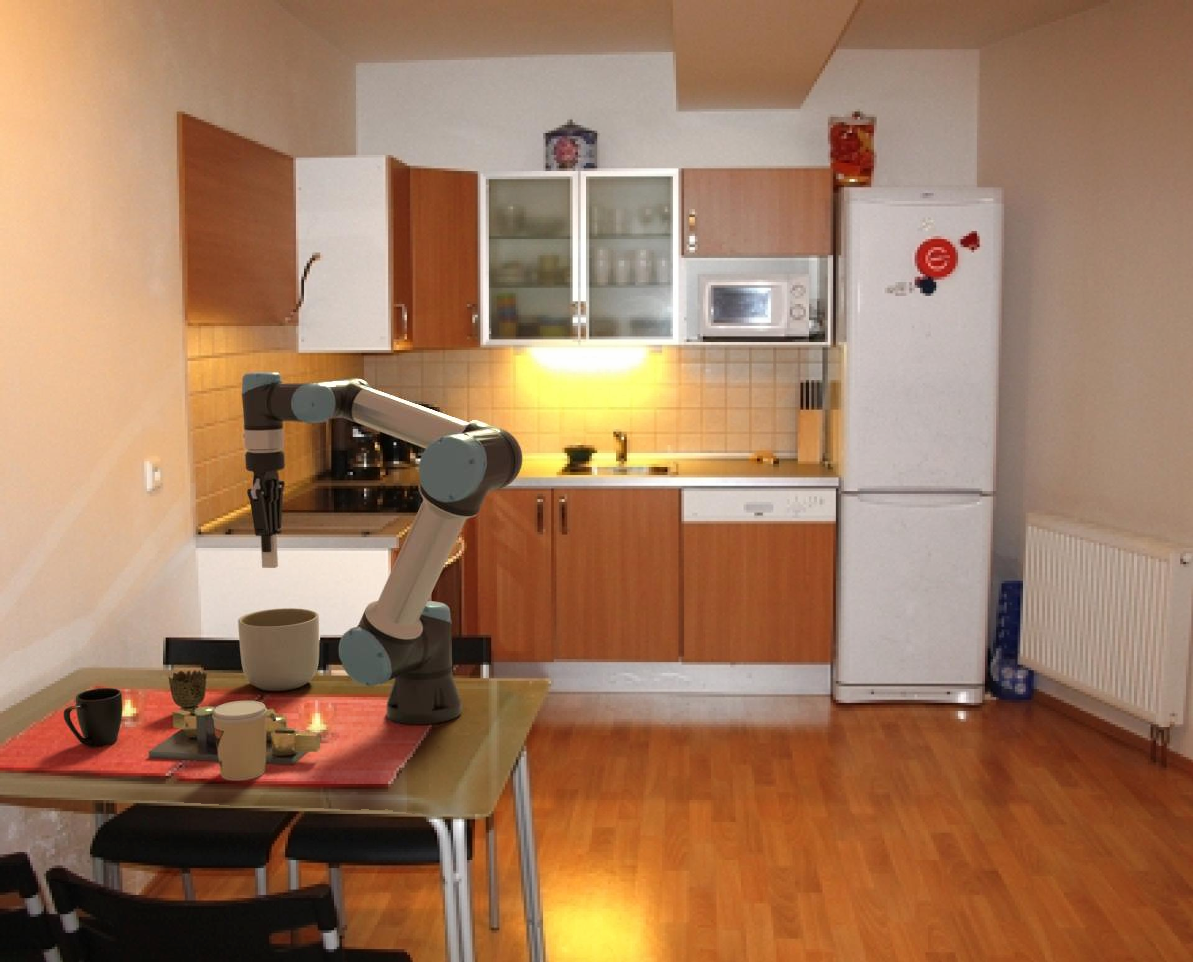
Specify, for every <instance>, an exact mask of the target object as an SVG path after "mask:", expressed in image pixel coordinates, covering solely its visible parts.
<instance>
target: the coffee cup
mask: <svg viewBox="0 0 1193 962" xmlns="http://www.w3.org/2000/svg"><path fill="white" fill-rule="evenodd" d="M267 709H268V708H267V707H266V705H265V704H264V703H263V702H261V701H258V700H257V701H256V700H236V701H230V702H225V703H223V704H220V706H218V707H216V708H215V709H214V712H213V715H212V716H213V719H214V727H215V736H216V744H217V751H218V759H219V761H218V765H219V773H220V776H221V778H222V779H224V780H226V781H233V782H234V781H237V782H239V781H248V780H251V779H256V778H259V777H260V776H262V775H264V774H265V773H266V764H265V763H266V714H267Z"/></svg>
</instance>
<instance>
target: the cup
mask: <svg viewBox="0 0 1193 962" xmlns="http://www.w3.org/2000/svg"><path fill="white" fill-rule="evenodd" d="M207 676H208V673H207V672H205V671H203V672H201V671H200V670H198V671H197V670H196V669H194V670H193V671H192V673H191V670H187V671H186V673H185V672H184V671H182V670H180V671H179V672H177V673H176V672H173V673H172V677H171V676H170V675H168V682H169V683H168V684H169V689H170V694H171V697H172V701H173V702H174V703H175V705H177V706H178V707H180V708H179V710H184V711H188V712H195V709H197V708H200V707H199V706H200V704H202V702H203V701H204V700H205V697H206V690H207Z"/></svg>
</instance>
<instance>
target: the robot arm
mask: <svg viewBox="0 0 1193 962" xmlns="http://www.w3.org/2000/svg"><path fill="white" fill-rule="evenodd" d="M241 383H242V384H241V393H240V394H241V398H242V409H243V410H242V412H243V429H244V433H243V434H242V438H243V439H244V448H245V449H246V450H248V451H246V452H245V454H244V455H245V456H244V459H245V469H246V470H247V472H252V473H253V474H252V475H253V476H252V488H247V491H246V492H247V496H248V500H249V503H250V509H251V517H252V522H253V529H254V535H255V536H256V537H257V536H258V537H260V547H261V548H260V552H261V568H263V569H276V568H278V567H279V562H278V560H279V559H278V558H279V557H278V542H277V541H278V539H277V535H280V534H281V535H282V530H280V529H282V517H283V498H284V490H285V483H286V482H285V481H284V480H280V479H279V478H280V474H279V472H278V471H282V470H284V469H285V467H286V464H285V463H286V461H285V460H286V459H285V452H284V451H283V450H282V449H284V447H285V441H284V440H285V439H284V438H285V437H284V428H283V427H284V422H293V423H306V424H309V425H310V424H317V423H325V422H327V421H328V420H330V419H337V418H338V419H339V418H341V419H342V418H343V419H345V420H348V421H350V422H354V423H356V424H359V425H362V426H365V427H367V428H371V429H373V430H375V431H378V432H380V433H383V434H386V435H389V436H391V437H394V438H396V439H399V440H403V441H405V442H408V443H410V444H413V445H415V446H418V447H420V448H423V449H424V451H423V453H422V455H421V457H420V460H419V464H418V474H419V475H420V478H419V481H420V485H419V488H418V491H419V494H420V497H421V498H422V502H421V504H420V505H419V506H420V507H419V509H418V511H417V514H416V515H415V518H414V520H413V522H412V524H411V527H410V529H409V531H408V533H407V535H406V538H405V540H404V543H403V544H402V547H401V548H400V551H399V553H398V555H397V558H396V560H395V562H394V564H393V565H392V566H393V567H392V569H391V571H390V573H389V576H388V577H387V580H386V582H385V584H384V586H383V589H382V591H381V593H380V596H379V598H378V600H376V601H372V602H370V603H368V604H367V606H366V607H365V609H364V611H363V614H362V616H361V618H360V620H359V623H358V624H357V626H354V627H351V628H349V629H348V630H346V632H344V633H343V635H342V636H341V638H340V640H339V645H338V656H339V660H340V662H341V663H342V664H341V665H342V667H343V670H344V671H345V673H346V674H347V675H348V676H349V677H350V678H351V679H352V680H353V681H354V682H356V684H359V685H362V686H364V687H373V686H379V685H383V684H386V683H388V681H390V680H393V681H392V685H391V688H390V691H389V695H388V698H387V702H386V717H387V718H388V719H389V720H391V721H393V722H395V723H398V724H399V723H400V724H404V725H405V724H406V725H433V724H439V723H443V722H447V721H450V720H454V719H456V718H458V717H460V715H461V714H462V712H463V707H462V705H463V703H462V698H461V695H460V693H459V690H458V687H457V684H456V682H455V681H456V680H455V679H454V677H453V659H452V657H453V656H452V655H453V654H452V653H453V652H452V651H453V650H452V645H453V644H452V624H453V621H452V619H451V610H450V608H449V606H448V604H445V603H443V602H439V601H432V600H429V599H430V597H431V595H432V593H433V590H434V589H435V587H436V584H437V582H438V580H439V578H440V576H441V573H442V571H443V569H444V568H445V565H446V563H447V560H448V559H449V557H450V555H451V552H452V550H453V548H454V545H455V544H456V542H457V540H458V537H459V535H460V533H461V531H462V529H463V526H464V524H465V522H466V521H467V519H470V518H474V517H476V516H477V515H478V513H479V512H480V509H481V507H482V505H483V504H484V501H485V499H486V497H487V495H488V493H490V492H494V491H498V490H501V489H504V488H506V487H507V486H509V485H510V484H511V483H513V482H514V481H515V480H516V479H517V477H518V476H519V474H520V472H521V470H522V465H523V451H522V447H521V446H520V444H519V441H518V440H517V439H516V437H515V436H513V434H511V433H510V432H509V431H507V430H505V429H503V428H501V427H498V426H495V425H492V424H488V423H485V422H483V421H479V420H477V419H474V420H472V421H470V422H467V421H464V420H462V419H459V418H456V417H452V416H451V415H448V414H445V413H442V412H440V411H439V412H438V411H436V410H434V409H430V408H427V407H425V406H422V405H419V404H416V403H413V402H410V401H408V400H404V399H402V398H399V397H396V396H394V395H390V394H388V393H385V392H382V391H379V390H377V389H373V388H372V387H371V385H369V383H368V382H367V381H365V380H364V379H361V378H352V377H349V378H348V377H347V378H343V379H336V380H335V379H333V380H326V381H325V380H323V381H312V382H300V383H299V382H296V383H295V382H292V383H291V382H288V383H285V382H283V381H282V378H281V374H280V373H279V372H276V371H254V372H247V373H244V375H243V376H242V382H241Z"/></svg>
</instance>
